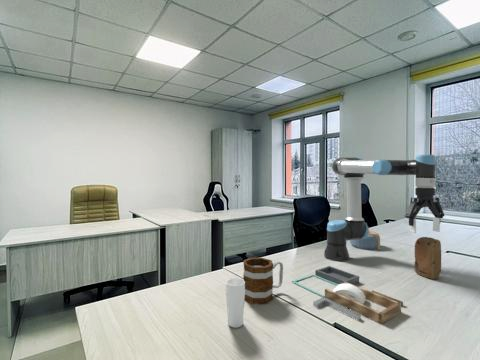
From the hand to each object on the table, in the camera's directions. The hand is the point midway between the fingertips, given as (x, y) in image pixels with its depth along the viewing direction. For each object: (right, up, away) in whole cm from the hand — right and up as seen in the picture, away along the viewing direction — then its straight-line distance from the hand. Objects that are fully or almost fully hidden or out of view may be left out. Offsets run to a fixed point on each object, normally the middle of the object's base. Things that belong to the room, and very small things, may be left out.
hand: (424, 232), depth 119 cm
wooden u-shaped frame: (-38, -26, -17) cm, 49 cm away
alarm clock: (+5, -25, +68) cm, 73 cm away
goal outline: (-50, -26, +1) cm, 56 cm away
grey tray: (-39, -26, +8) cm, 47 cm away
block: (+11, -26, +13) cm, 31 cm away
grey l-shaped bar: (-51, -26, -23) cm, 62 cm away
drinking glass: (-89, -26, -31) cm, 98 cm away
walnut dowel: (-25, -26, -13) cm, 39 cm away
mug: (-77, -26, -9) cm, 82 cm away
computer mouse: (-41, -26, -12) cm, 51 cm away
